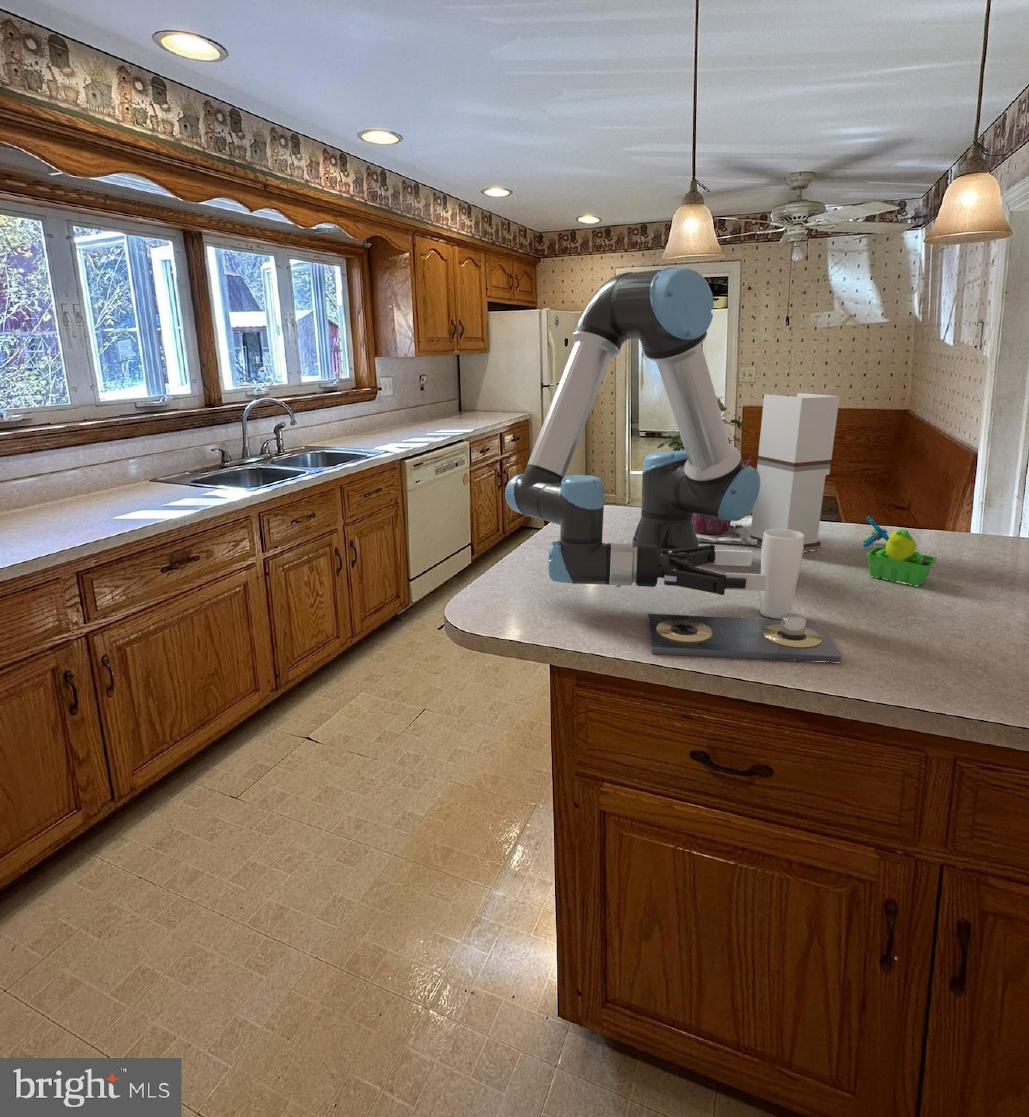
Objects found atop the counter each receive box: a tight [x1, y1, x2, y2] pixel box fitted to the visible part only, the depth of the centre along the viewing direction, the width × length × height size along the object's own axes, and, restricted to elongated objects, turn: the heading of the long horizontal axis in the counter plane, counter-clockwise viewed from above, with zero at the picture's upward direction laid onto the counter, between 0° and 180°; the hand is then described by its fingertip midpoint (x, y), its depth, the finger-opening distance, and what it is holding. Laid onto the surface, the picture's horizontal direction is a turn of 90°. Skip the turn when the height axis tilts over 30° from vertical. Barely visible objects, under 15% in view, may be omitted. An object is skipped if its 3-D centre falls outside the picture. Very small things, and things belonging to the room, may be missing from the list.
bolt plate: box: [647, 613, 842, 663], centre depth 115 cm, size 28×14×4 cm, turn 82°
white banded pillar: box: [750, 392, 840, 552], centre depth 162 cm, size 11×11×35 cm
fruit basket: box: [866, 528, 937, 586], centre depth 142 cm, size 11×9×11 cm
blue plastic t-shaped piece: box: [862, 516, 890, 548], centre depth 165 cm, size 11×6×10 cm
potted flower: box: [656, 395, 757, 546], centre depth 177 cm, size 27×25×35 cm
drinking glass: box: [759, 529, 804, 620], centre depth 124 cm, size 7×7×15 cm
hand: (758, 569), depth 124 cm, fingers open, 13 cm apart
